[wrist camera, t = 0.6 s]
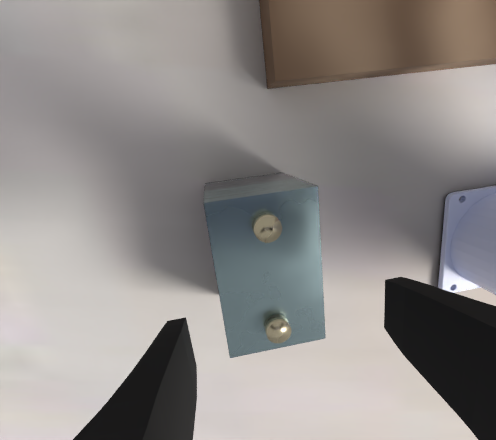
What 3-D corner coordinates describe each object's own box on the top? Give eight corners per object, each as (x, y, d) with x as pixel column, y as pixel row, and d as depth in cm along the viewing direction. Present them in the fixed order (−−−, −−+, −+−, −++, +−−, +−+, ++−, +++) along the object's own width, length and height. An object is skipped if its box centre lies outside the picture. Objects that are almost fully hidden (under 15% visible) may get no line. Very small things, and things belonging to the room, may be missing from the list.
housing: (282, 172, 18) (323, 188, 11) (291, 282, 20) (330, 346, 14) (204, 183, 17) (203, 206, 11) (223, 295, 19) (230, 367, 13)
